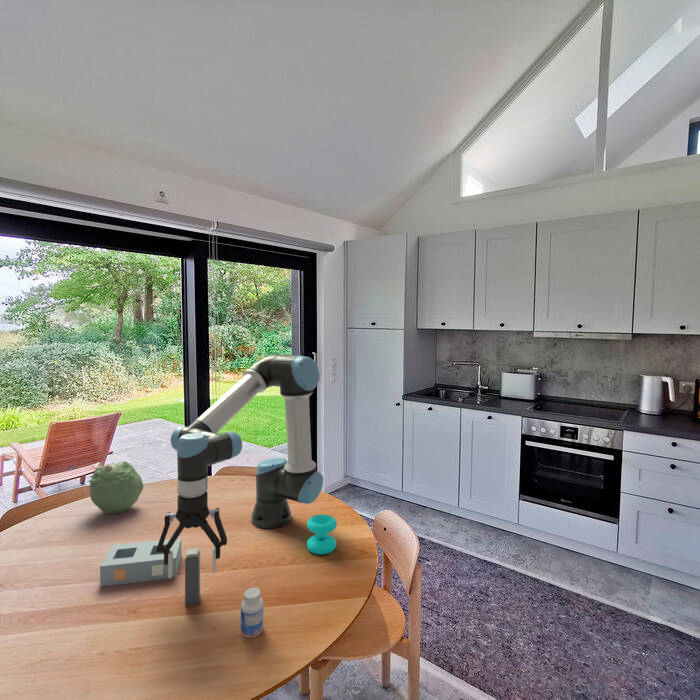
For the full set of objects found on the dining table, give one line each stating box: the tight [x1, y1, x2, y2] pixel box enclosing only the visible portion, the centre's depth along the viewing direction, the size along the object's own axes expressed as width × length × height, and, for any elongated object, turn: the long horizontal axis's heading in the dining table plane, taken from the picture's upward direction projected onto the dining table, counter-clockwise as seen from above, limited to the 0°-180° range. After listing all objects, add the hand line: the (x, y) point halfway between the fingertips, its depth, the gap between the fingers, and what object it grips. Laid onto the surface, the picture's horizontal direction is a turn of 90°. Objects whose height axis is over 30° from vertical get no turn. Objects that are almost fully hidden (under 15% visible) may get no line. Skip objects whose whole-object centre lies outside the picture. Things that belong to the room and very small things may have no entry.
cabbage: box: [87, 461, 144, 515], centre depth 166 cm, size 16×19×20 cm
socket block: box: [99, 537, 183, 588], centre depth 127 cm, size 20×12×6 cm, turn 104°
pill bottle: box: [240, 587, 264, 639], centre depth 103 cm, size 6×5×10 cm
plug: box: [184, 547, 201, 607], centre depth 114 cm, size 4×4×14 cm
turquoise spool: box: [306, 513, 338, 555], centre depth 142 cm, size 10×10×10 cm
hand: (192, 572), depth 114 cm, fingers open, 10 cm apart
